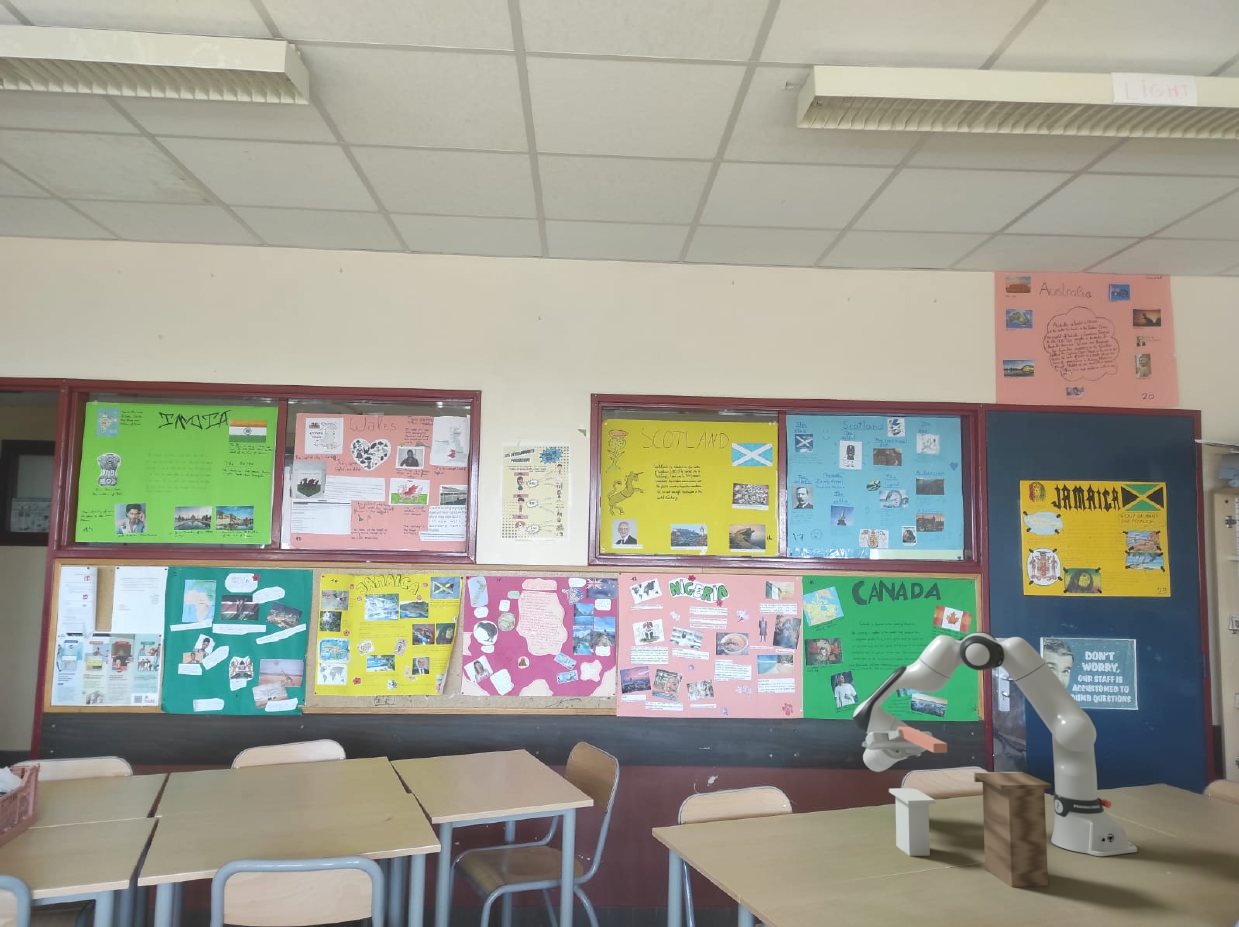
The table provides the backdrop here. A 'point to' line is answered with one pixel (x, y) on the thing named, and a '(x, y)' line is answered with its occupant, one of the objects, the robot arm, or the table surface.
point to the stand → (912, 821)
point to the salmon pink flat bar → (923, 740)
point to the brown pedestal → (1015, 827)
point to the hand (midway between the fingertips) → (909, 732)
